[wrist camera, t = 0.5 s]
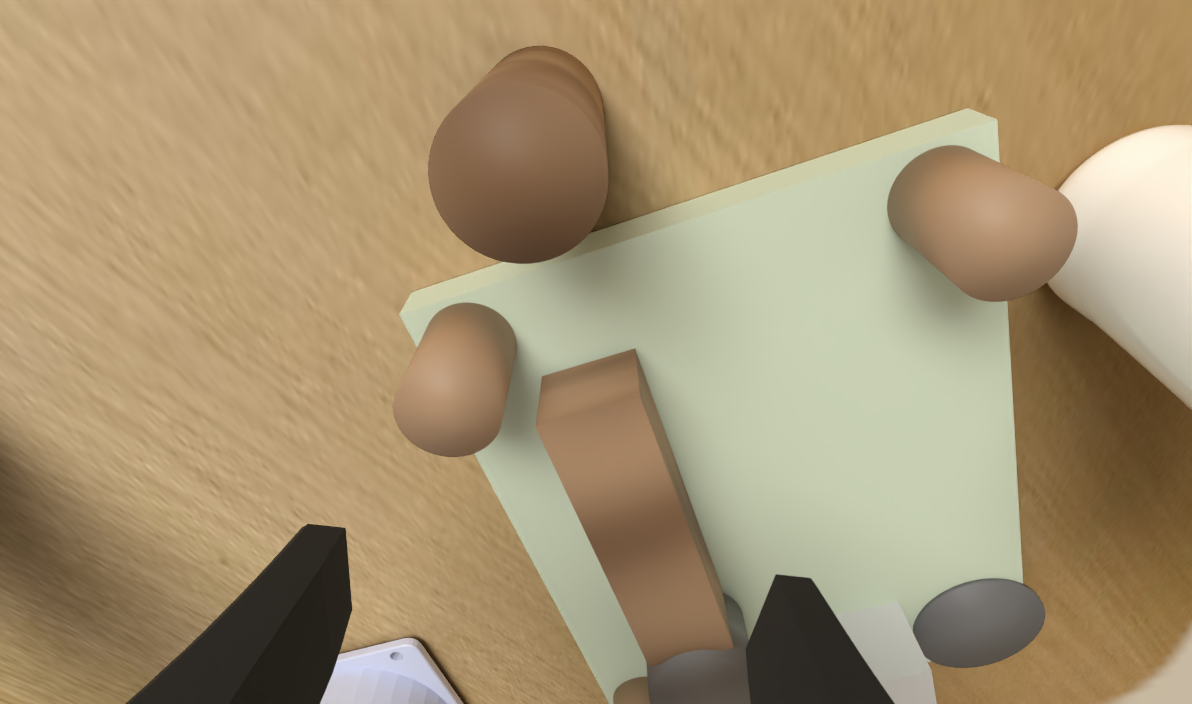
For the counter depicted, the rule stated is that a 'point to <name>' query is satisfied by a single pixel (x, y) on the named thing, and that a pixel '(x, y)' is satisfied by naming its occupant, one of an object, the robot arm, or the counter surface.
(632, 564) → the hinged leg
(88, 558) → the counter surface
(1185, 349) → the white tumbler
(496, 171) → the leg peg
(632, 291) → the board
